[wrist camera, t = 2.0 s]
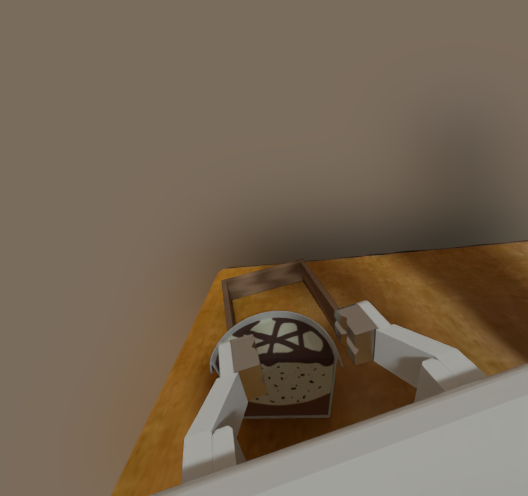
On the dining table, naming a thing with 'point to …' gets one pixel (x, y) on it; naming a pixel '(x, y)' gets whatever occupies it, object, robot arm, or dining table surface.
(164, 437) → the dining table surface
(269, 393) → the food container
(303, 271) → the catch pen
